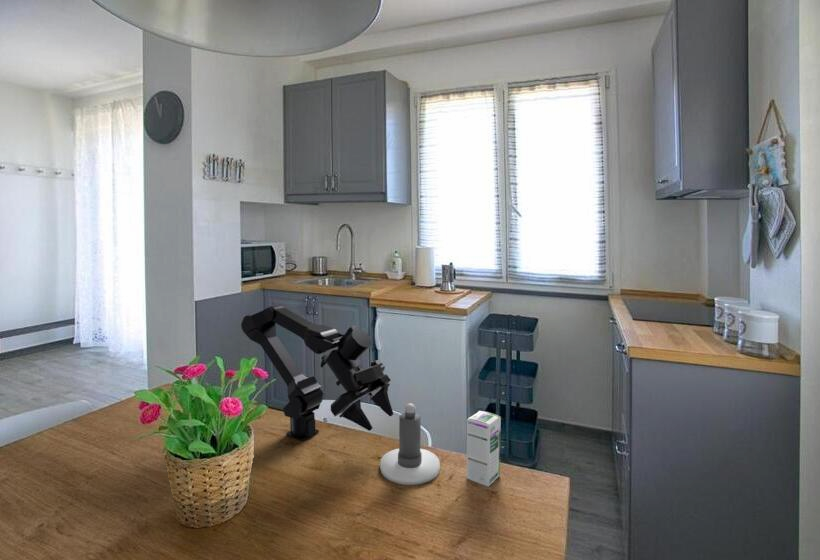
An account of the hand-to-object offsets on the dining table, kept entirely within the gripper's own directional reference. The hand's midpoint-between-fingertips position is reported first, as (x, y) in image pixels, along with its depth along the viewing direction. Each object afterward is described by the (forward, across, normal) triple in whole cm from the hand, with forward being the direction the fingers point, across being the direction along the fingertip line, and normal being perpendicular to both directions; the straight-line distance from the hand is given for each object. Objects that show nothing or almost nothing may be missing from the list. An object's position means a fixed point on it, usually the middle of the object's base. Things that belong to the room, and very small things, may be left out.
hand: (382, 422), depth 106 cm
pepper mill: (+11, 0, 0) cm, 11 cm away
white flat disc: (+12, 0, +1) cm, 12 cm away
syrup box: (+24, +5, -10) cm, 27 cm away
